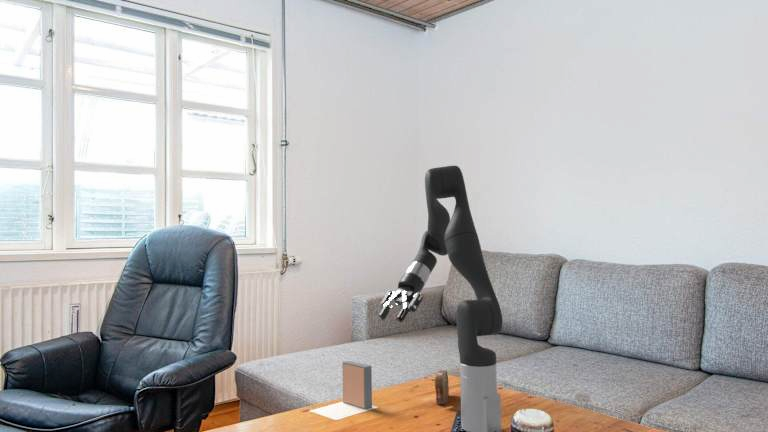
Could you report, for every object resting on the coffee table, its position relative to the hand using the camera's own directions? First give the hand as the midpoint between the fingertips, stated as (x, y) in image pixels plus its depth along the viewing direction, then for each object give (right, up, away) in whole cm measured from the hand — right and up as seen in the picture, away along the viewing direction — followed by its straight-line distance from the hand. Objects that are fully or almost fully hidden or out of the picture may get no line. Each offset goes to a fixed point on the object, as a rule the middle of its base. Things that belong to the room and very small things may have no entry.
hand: (390, 319), depth 171 cm
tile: (-10, -24, -8) cm, 27 cm away
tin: (+16, -24, -3) cm, 29 cm away
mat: (-13, -24, -12) cm, 30 cm away
